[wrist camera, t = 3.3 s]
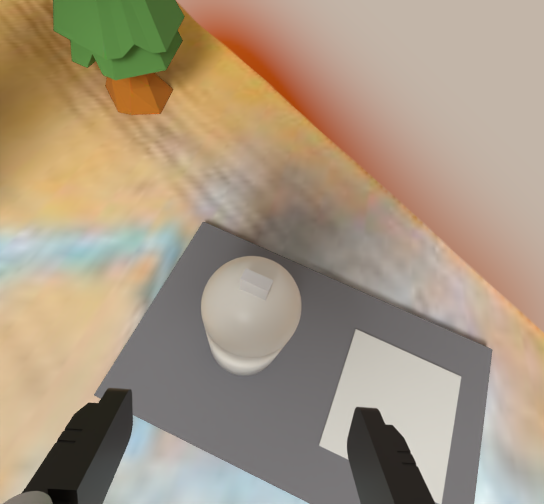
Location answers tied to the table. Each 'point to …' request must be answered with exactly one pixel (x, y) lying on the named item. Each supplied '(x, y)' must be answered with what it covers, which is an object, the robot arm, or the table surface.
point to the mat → (308, 382)
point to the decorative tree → (124, 46)
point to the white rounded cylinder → (249, 313)
